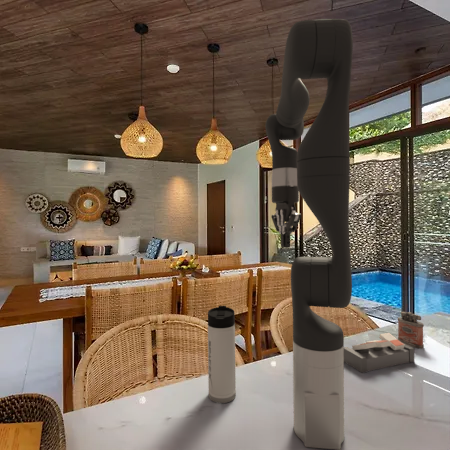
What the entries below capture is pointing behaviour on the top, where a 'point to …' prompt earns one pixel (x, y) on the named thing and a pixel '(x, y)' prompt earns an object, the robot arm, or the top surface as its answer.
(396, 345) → the rocker far
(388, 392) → the top surface
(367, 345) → the rocker near
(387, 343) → the rocker middle
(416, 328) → the lighter
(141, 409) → the top surface
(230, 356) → the travel mug
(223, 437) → the top surface
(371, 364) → the dark grey slotted base
